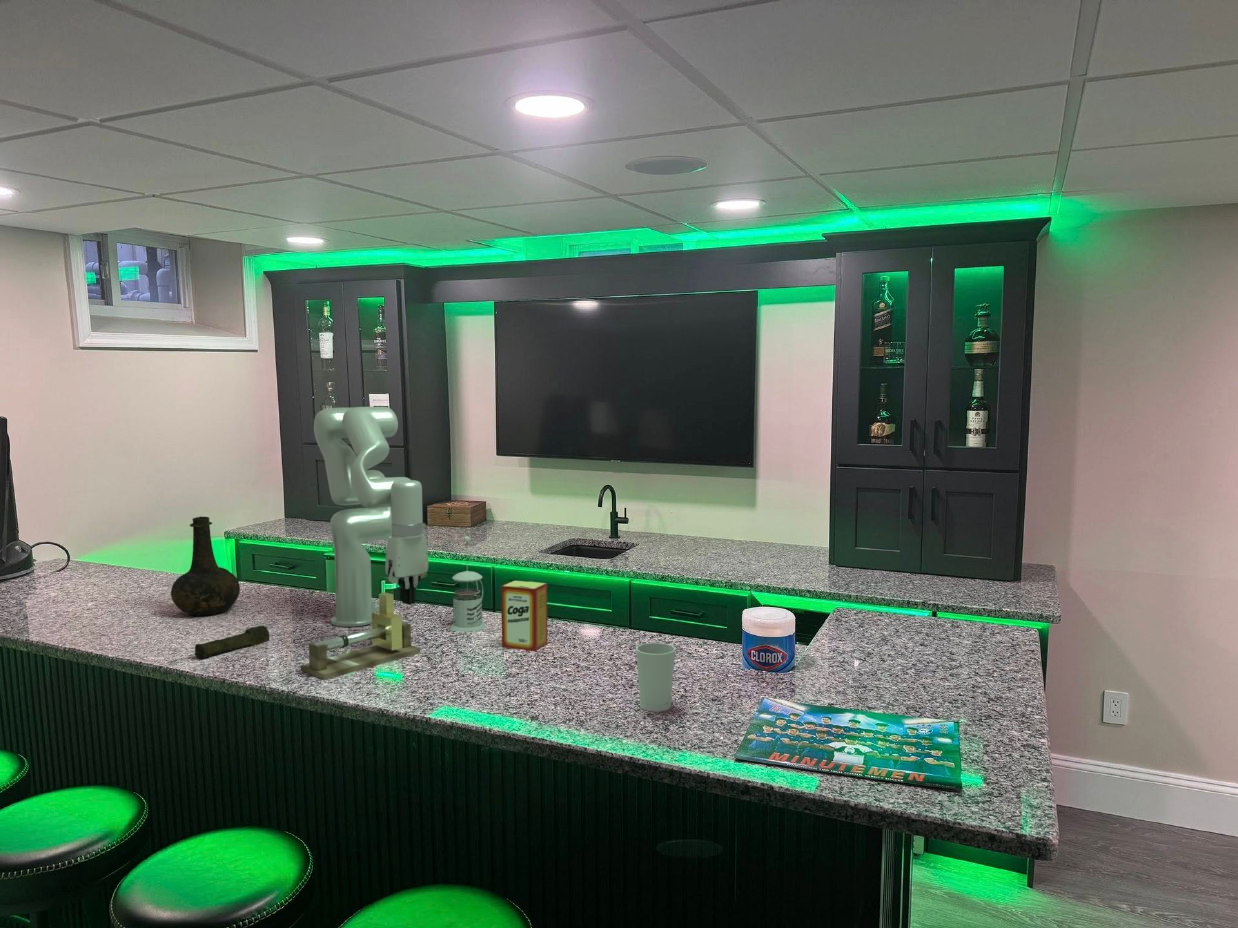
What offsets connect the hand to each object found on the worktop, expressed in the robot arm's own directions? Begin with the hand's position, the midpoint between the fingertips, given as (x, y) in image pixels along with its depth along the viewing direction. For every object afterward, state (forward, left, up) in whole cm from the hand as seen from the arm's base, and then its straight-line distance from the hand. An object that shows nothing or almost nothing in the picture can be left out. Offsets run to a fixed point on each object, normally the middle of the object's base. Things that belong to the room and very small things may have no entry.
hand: (408, 603), depth 212 cm
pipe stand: (+13, 0, -12) cm, 18 cm away
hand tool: (+28, -33, -12) cm, 45 cm away
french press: (-24, -5, -12) cm, 27 cm away
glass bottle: (+16, -75, -12) cm, 78 cm away
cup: (-9, +71, -12) cm, 72 cm away
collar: (+7, 0, -9) cm, 11 cm away
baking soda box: (-21, +20, -12) cm, 31 cm away
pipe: (+14, 0, -7) cm, 15 cm away
